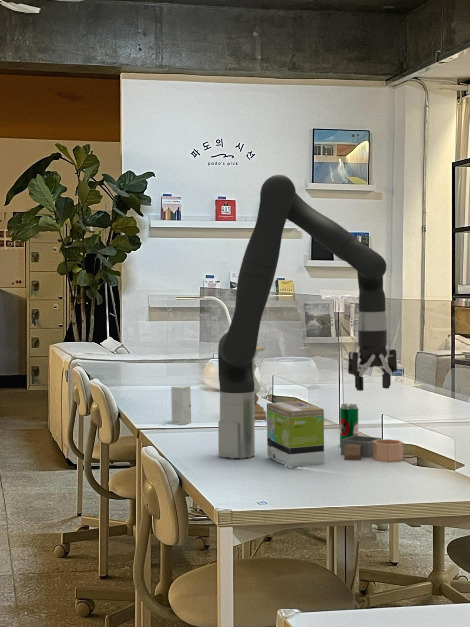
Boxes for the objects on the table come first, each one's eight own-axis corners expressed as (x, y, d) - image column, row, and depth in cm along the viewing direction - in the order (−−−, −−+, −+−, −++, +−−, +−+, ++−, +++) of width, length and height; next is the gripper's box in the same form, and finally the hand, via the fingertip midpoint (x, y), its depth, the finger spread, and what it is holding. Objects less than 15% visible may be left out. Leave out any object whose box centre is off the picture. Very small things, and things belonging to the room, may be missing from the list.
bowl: (395, 465, 241) (395, 445, 241) (369, 462, 245) (369, 442, 245) (406, 460, 247) (406, 441, 247) (380, 457, 251) (380, 438, 251)
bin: (368, 459, 248) (368, 442, 248) (340, 456, 252) (340, 439, 252) (381, 454, 255) (381, 438, 255) (354, 451, 259) (354, 435, 259)
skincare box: (183, 425, 306) (183, 387, 305) (170, 424, 307) (170, 386, 307) (191, 422, 311) (191, 385, 311) (179, 421, 313) (179, 384, 313)
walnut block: (359, 463, 245) (359, 447, 245) (344, 462, 246) (344, 446, 246) (361, 459, 249) (361, 444, 248) (346, 459, 250) (346, 444, 249)
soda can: (357, 449, 262) (357, 406, 262) (339, 449, 264) (339, 405, 263) (358, 446, 267) (359, 403, 267) (340, 445, 268) (340, 403, 268)
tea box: (265, 458, 251) (265, 402, 251) (300, 455, 255) (300, 400, 254) (289, 469, 237) (288, 409, 237) (325, 466, 241) (325, 407, 240)
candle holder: (266, 421, 312) (265, 348, 311) (232, 421, 312) (232, 348, 311) (265, 416, 323) (265, 345, 322) (233, 416, 323) (232, 346, 322)
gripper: (358, 330, 248) (359, 393, 248) (402, 328, 254) (403, 388, 255) (342, 329, 254) (342, 390, 255) (385, 326, 261) (386, 386, 262)
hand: (373, 389), depth 255 cm, fingers open, 8 cm apart
